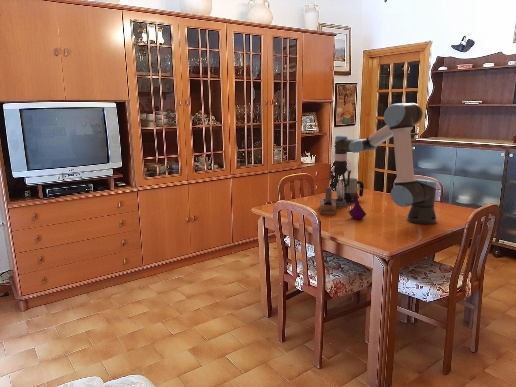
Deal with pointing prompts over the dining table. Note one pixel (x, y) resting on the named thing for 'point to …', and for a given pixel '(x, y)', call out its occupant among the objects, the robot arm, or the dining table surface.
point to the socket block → (341, 203)
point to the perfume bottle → (357, 208)
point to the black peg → (328, 195)
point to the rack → (327, 207)
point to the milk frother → (352, 189)
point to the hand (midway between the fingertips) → (340, 196)
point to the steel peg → (340, 190)
